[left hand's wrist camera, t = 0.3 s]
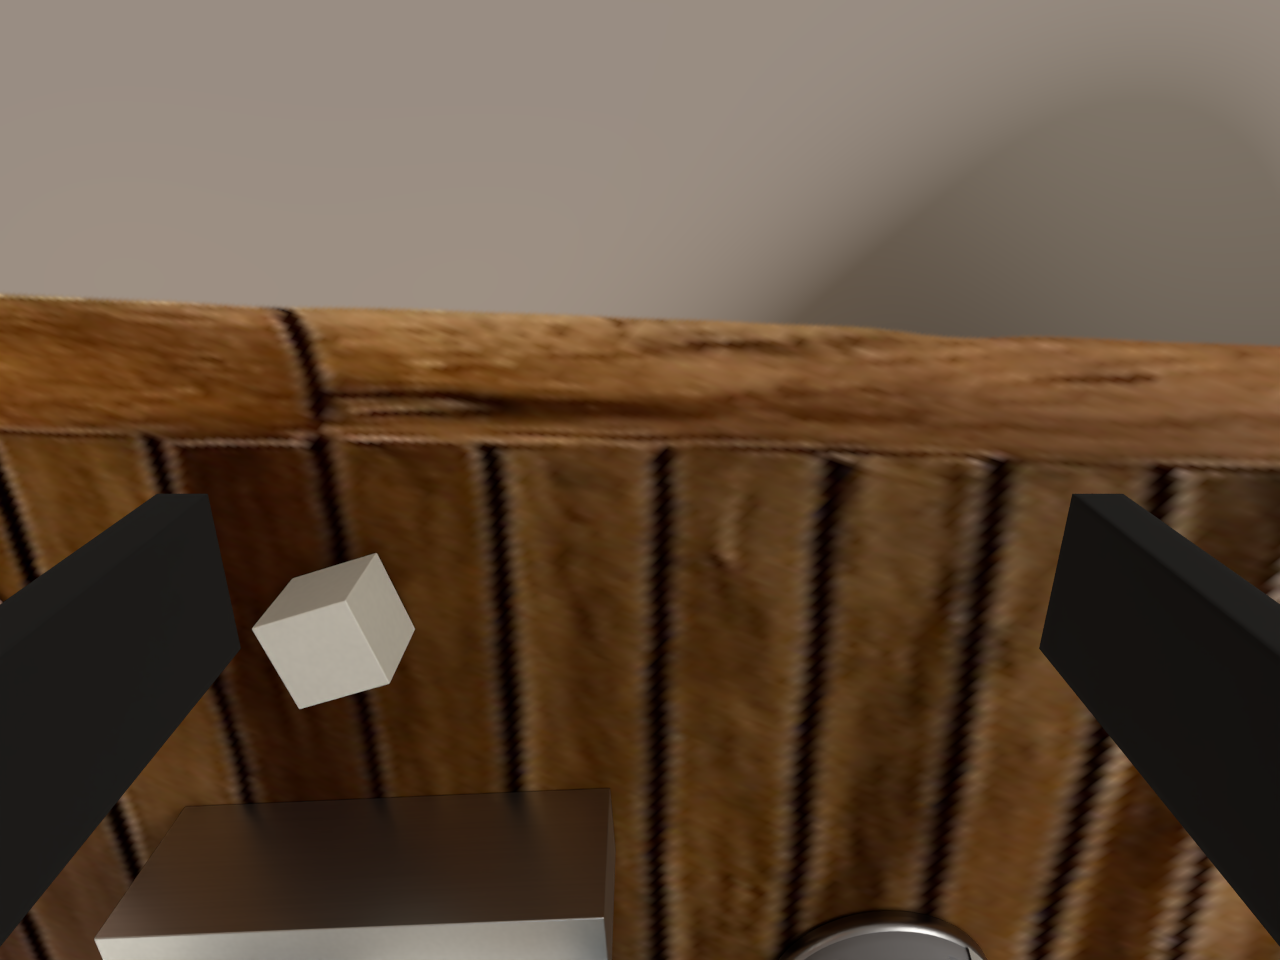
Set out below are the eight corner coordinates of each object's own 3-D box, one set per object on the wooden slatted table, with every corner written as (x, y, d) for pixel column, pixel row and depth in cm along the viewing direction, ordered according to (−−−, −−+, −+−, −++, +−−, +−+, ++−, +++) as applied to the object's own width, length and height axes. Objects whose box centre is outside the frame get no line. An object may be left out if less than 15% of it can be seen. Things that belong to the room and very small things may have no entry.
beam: (615, 850, 51) (610, 987, 43) (205, 867, 52) (121, 1005, 43) (610, 787, 49) (604, 918, 41) (184, 806, 50) (92, 938, 41)
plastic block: (415, 628, 45) (389, 684, 40) (333, 652, 45) (299, 709, 41) (376, 552, 43) (345, 600, 38) (292, 578, 44) (250, 628, 39)
